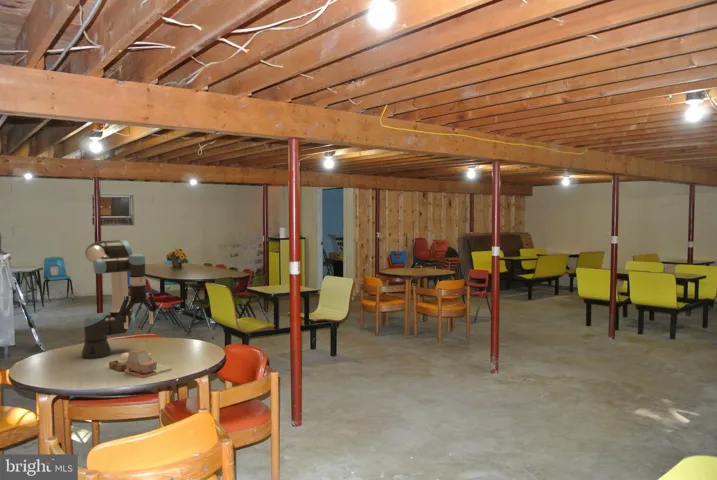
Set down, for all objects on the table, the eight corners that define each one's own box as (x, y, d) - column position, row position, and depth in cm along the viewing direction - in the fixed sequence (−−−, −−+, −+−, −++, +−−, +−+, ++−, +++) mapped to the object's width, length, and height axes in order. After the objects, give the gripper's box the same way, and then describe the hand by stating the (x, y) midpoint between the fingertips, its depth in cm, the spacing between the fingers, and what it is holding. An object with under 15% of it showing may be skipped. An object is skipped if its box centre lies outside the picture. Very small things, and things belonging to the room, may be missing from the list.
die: (139, 362, 292) (139, 353, 292) (145, 360, 296) (145, 351, 296) (145, 363, 290) (145, 354, 290) (151, 361, 294) (151, 352, 294)
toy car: (143, 376, 265) (143, 355, 265) (123, 371, 273) (122, 351, 272) (159, 371, 273) (158, 351, 273) (139, 366, 281) (138, 347, 280)
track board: (124, 371, 276) (124, 369, 276) (153, 364, 289) (153, 362, 289) (142, 377, 266) (142, 375, 266) (171, 369, 278) (171, 368, 278)
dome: (115, 365, 284) (114, 353, 284) (129, 362, 290) (129, 350, 290) (122, 368, 279) (122, 355, 279) (137, 364, 285) (137, 352, 285)
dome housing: (109, 367, 284) (109, 362, 283) (131, 362, 293) (130, 356, 293) (121, 371, 276) (121, 365, 276) (143, 366, 286) (143, 360, 286)
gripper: (117, 288, 263) (119, 331, 265) (164, 282, 283) (165, 322, 284) (110, 287, 268) (111, 329, 270) (156, 281, 287) (157, 320, 289)
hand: (139, 326), depth 277 cm, fingers open, 13 cm apart
